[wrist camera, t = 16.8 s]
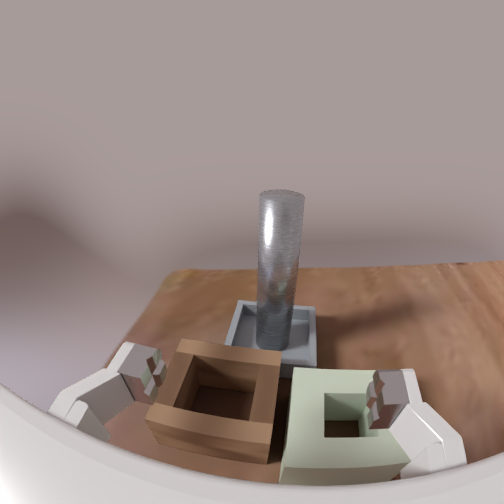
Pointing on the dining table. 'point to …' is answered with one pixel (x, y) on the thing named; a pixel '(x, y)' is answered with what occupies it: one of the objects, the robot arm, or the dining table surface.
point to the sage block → (335, 449)
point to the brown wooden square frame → (219, 376)
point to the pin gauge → (277, 266)
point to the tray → (300, 341)
